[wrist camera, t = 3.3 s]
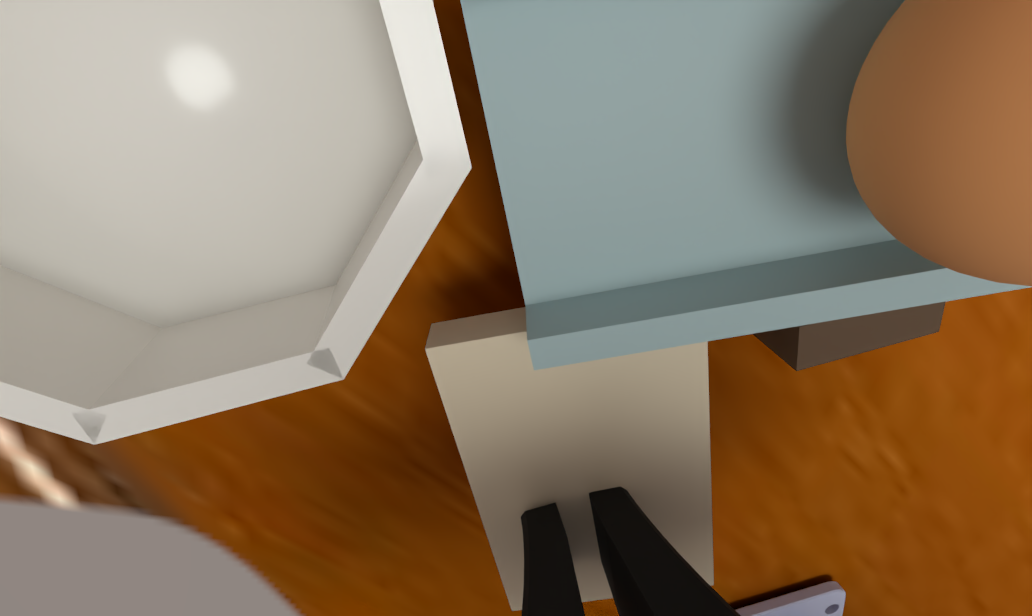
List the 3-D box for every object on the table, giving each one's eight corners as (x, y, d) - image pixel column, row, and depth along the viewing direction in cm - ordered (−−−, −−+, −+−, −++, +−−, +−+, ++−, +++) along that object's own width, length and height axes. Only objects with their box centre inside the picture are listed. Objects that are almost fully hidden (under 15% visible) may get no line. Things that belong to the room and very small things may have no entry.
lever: (1195, 485, 11) (1431, 643, 8) (511, 577, 12) (512, 741, 9) (1681, -339, 5) (2964, -738, 3) (323, -16, 7) (185, -48, 4)
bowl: (487, 265, 11) (510, 335, 8) (38, 379, 10) (-92, 493, 8) (330, -387, 7) (274, -672, 4) (-455, -255, 6) (-1131, -489, 3)
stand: (847, 240, 12) (1035, 324, 9) (601, 304, 12) (686, 421, 8) (901, -249, 8) (1293, -487, 5) (537, -177, 8) (645, -374, 4)
